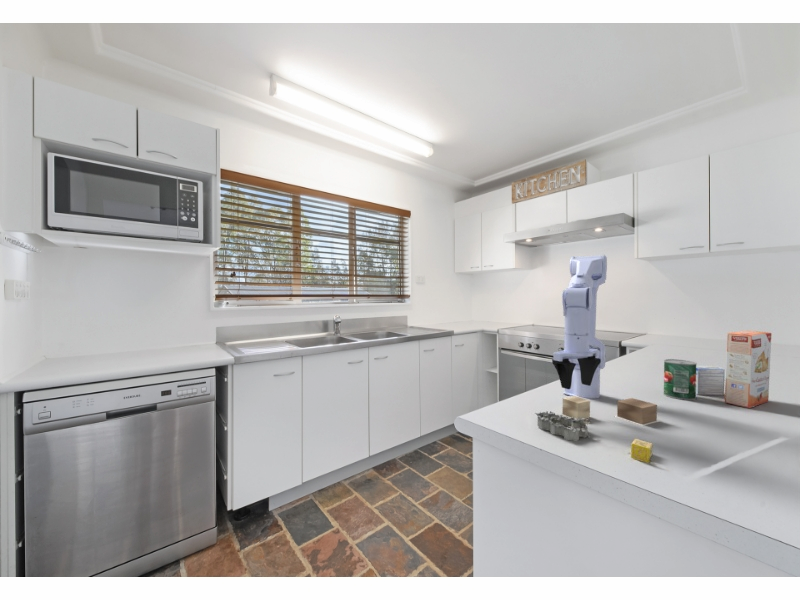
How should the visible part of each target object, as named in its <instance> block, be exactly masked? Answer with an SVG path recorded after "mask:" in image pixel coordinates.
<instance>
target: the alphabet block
mask: <svg viewBox="0 0 800 600" xmlns="http://www.w3.org/2000/svg"><path fill="white" fill-rule="evenodd" d="M630 445H631V446H630V448H631V449H630V458H631V459H634V460H637V461H641V462H645V463H647V464H649V463H650V462H651V457H652V455H653V452H654V451H653V450H654V449H653V448H654V447H653V446H654V445H653V443H652V442H648V441H645V440H641V439H638V438H634V439H633V441H632V443H631V444H630Z"/></svg>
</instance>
